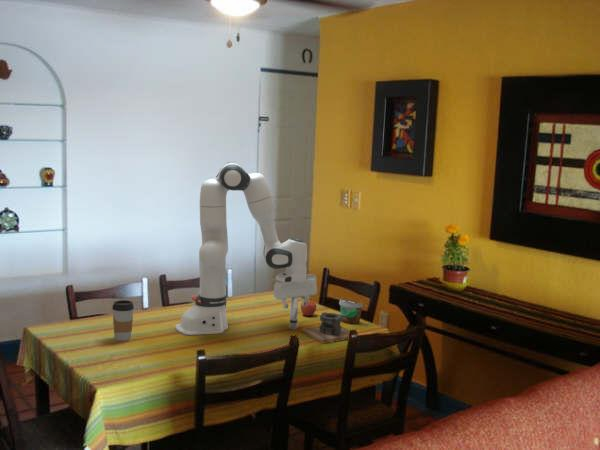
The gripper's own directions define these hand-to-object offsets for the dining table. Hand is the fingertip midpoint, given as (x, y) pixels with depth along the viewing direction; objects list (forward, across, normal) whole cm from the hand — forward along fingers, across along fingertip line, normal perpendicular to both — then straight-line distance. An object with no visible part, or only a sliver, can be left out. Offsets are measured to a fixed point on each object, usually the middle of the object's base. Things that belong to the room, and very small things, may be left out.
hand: (295, 306), depth 300 cm
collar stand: (+10, -10, +14) cm, 20 cm away
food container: (+10, -28, +1) cm, 29 cm away
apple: (+10, -16, -15) cm, 25 cm away
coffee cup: (+9, +72, -14) cm, 73 cm away
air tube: (+10, 0, 0) cm, 10 cm away
